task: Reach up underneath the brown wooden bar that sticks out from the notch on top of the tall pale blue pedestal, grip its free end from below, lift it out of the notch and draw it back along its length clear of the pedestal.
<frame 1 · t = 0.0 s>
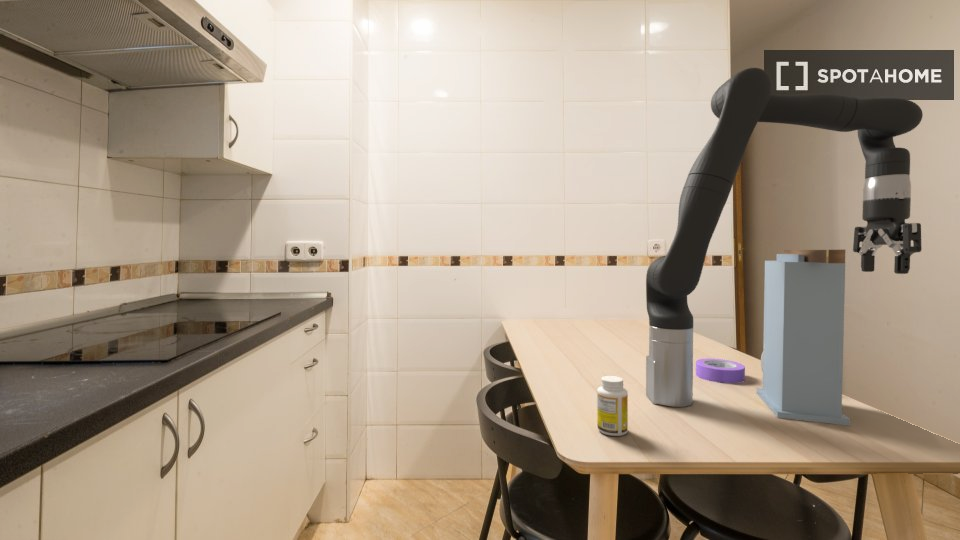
hand: (883, 272, 93), 29 cm above the table, tool pointing down, fingers open, 8 cm apart
supplement bottle: (612, 432, 81), on the table
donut: (775, 384, 109), on the table
pale blue pedestal: (798, 407, 92), on the table
brown wooden bar: (810, 261, 87), point 32 cm above the table, touching pale blue pedestal
masking tape: (719, 378, 116), on the table
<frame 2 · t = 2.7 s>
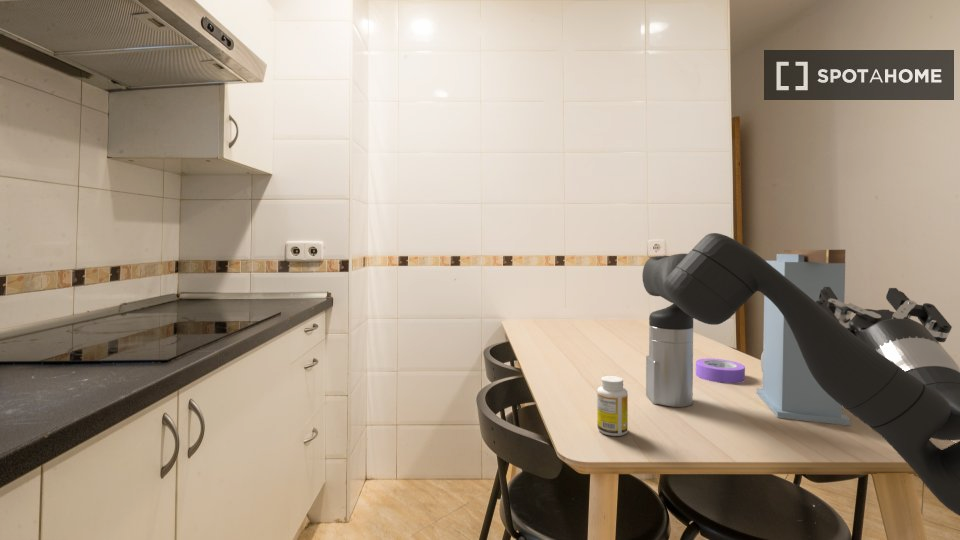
hand: (856, 291, 69), 28 cm above the table, tool pointing upward, fingers open, 8 cm apart
nothing on the table moved.
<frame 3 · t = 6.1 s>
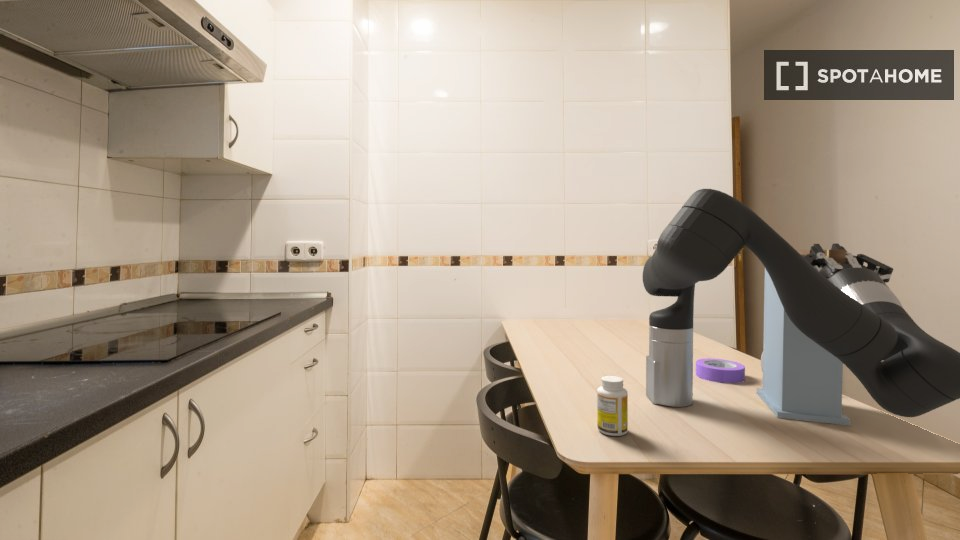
hand: (824, 247, 80), 35 cm above the table, tool pointing upward, fingers closed on brown wooden bar, 2 cm apart
brown wooden bar: (810, 261, 87), point 32 cm above the table, touching pale blue pedestal, gripper
everything else where it was.
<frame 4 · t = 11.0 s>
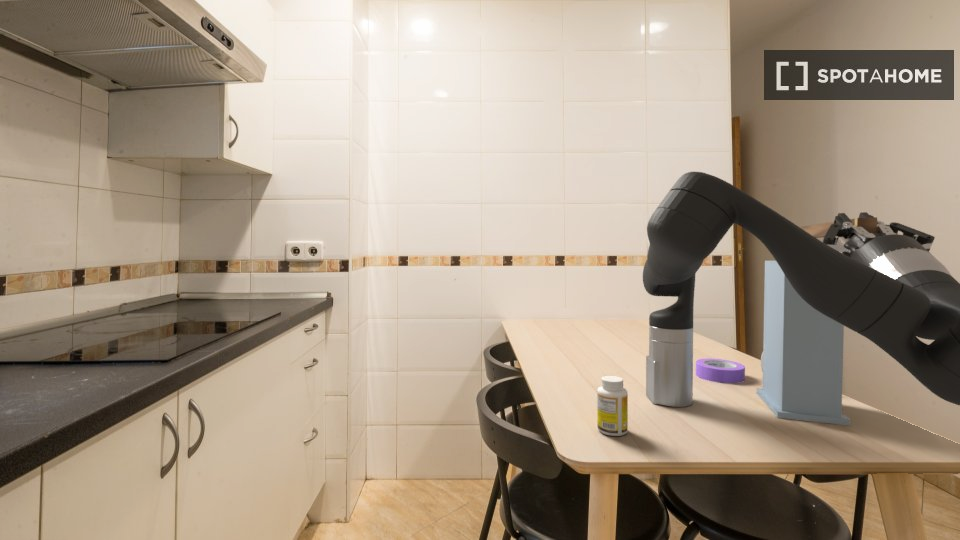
hand: (850, 218, 71), 40 cm above the table, tool pointing upward, fingers closed on brown wooden bar, 2 cm apart
brown wooden bar: (832, 236, 77), point 37 cm above the table, touching gripper
everything else where it was.
at the end: the gripper is holding brown wooden bar; brown wooden bar moved 11.1 cm from its start; brown wooden bar touching gripper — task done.
